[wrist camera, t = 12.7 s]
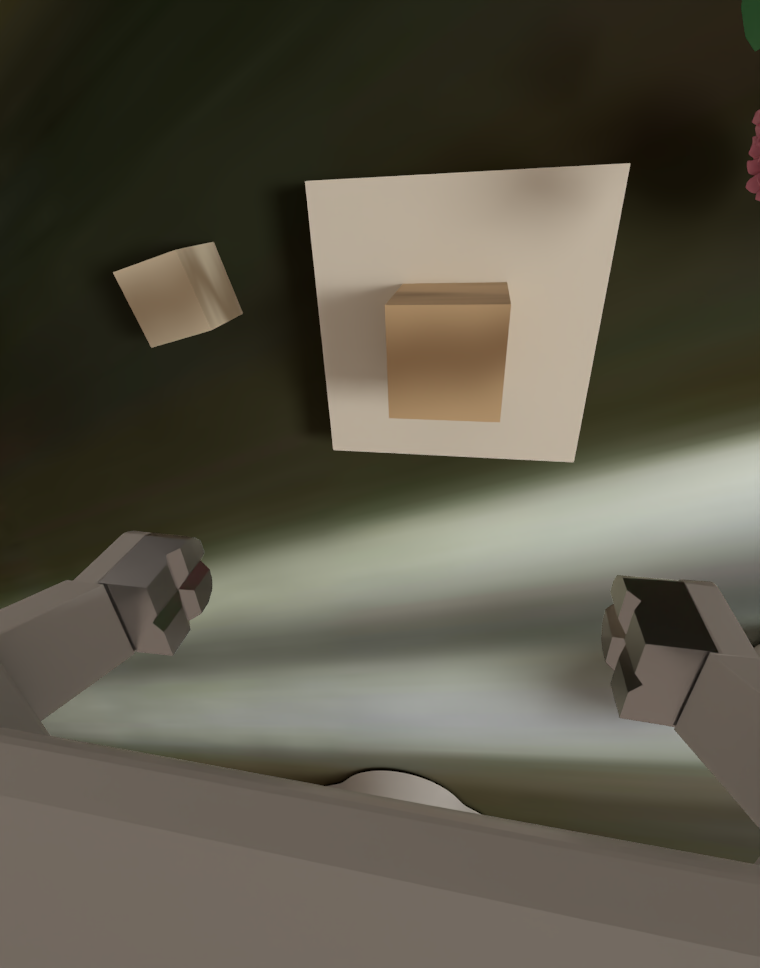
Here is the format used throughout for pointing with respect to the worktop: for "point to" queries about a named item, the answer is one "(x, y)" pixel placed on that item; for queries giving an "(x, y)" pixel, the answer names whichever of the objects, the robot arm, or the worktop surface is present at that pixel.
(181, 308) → the maple block
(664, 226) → the worktop surface
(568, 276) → the plate
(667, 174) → the worktop surface
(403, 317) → the oak block
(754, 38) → the flower vase
